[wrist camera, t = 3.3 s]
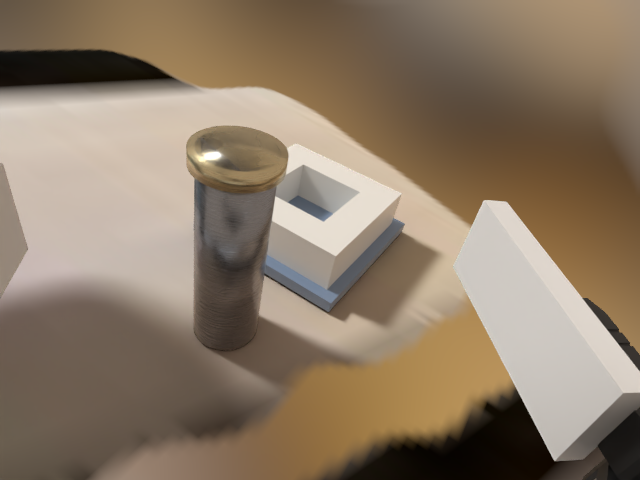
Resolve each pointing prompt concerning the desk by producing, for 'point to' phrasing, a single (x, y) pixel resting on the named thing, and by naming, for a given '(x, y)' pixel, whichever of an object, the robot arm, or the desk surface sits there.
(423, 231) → the desk surface
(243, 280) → the grey metal peg
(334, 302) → the socket block
